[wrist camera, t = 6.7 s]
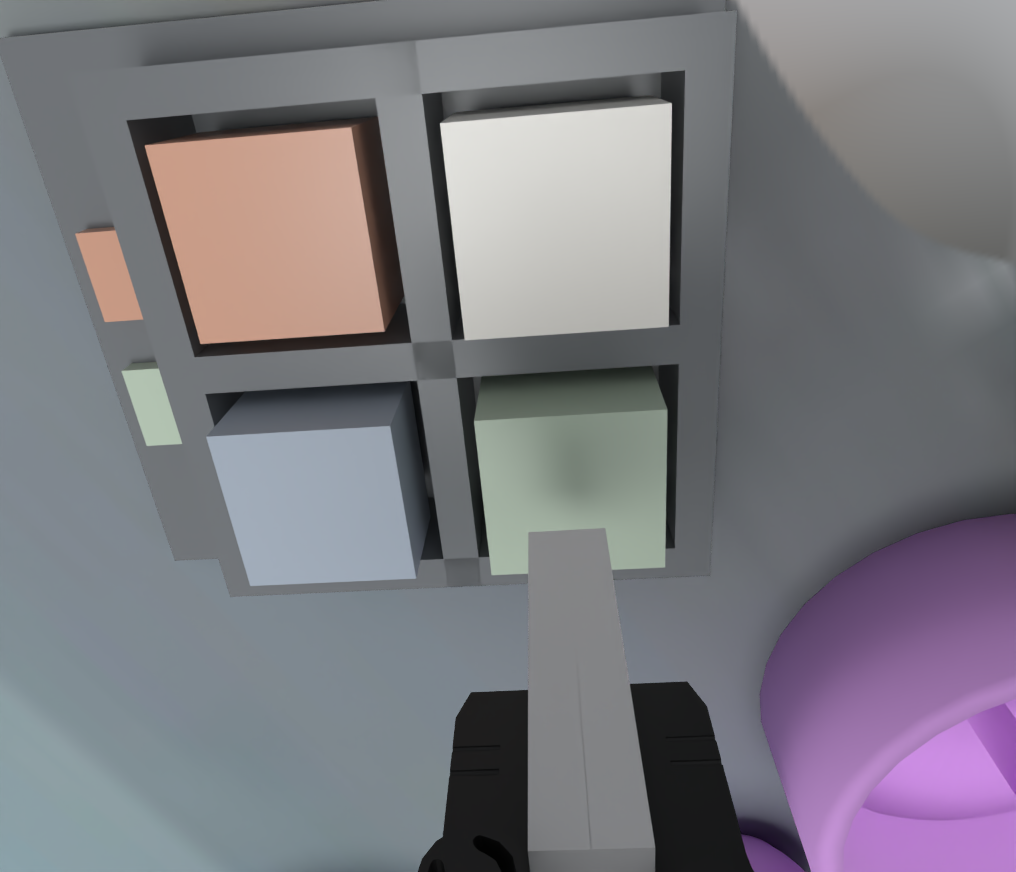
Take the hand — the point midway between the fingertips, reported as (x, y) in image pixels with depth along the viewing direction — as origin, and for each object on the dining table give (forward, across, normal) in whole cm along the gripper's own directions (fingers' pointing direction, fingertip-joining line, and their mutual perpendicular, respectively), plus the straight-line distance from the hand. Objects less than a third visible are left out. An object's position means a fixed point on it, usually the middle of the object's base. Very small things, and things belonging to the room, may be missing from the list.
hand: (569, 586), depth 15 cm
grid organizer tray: (+9, +4, -3) cm, 11 cm away
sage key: (+7, 0, 0) cm, 7 cm away
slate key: (+7, +6, 0) cm, 9 cm away
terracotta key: (+8, +6, -6) cm, 12 cm away
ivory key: (+7, 0, -6) cm, 9 cm away
